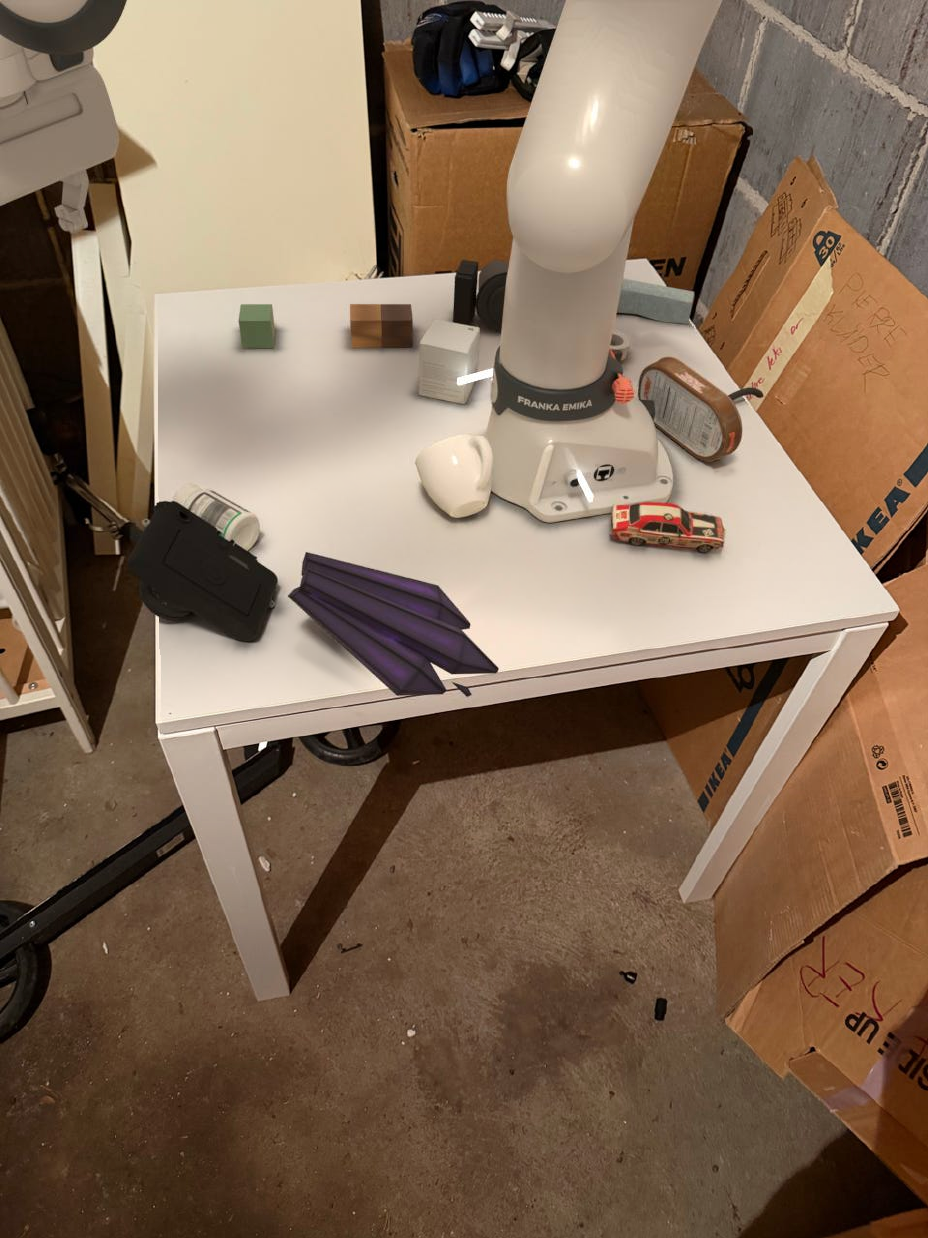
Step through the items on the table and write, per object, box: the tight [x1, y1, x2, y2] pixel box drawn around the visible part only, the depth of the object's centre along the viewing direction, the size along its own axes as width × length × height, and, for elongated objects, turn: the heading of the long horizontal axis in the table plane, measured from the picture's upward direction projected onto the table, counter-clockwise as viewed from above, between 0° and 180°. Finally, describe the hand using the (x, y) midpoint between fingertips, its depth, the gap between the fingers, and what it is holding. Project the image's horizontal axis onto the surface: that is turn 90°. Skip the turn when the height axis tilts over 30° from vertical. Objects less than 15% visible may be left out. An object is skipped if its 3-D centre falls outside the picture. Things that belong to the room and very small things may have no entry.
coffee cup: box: [475, 259, 509, 333], centre depth 120 cm, size 8×8×10 cm
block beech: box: [349, 303, 382, 349], centre depth 116 cm, size 4×4×4 cm
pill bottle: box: [170, 483, 261, 552], centre depth 90 cm, size 5×5×8 cm
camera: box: [126, 500, 279, 642], centre depth 82 cm, size 14×7×8 cm
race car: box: [610, 502, 726, 555], centre depth 93 cm, size 5×12×5 cm, turn 79°
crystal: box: [287, 551, 500, 698], centre depth 80 cm, size 7×12×20 cm
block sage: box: [238, 303, 276, 349], centre depth 114 cm, size 4×4×4 cm
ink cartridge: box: [452, 259, 479, 326], centre depth 118 cm, size 5×2×8 cm, turn 168°
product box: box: [418, 318, 481, 405], centre depth 108 cm, size 6×6×7 cm
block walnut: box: [380, 303, 414, 349], centre depth 116 cm, size 4×4×4 cm
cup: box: [414, 433, 493, 519], centre depth 93 cm, size 8×10×7 cm
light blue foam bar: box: [616, 278, 696, 325], centre depth 126 cm, size 23×7×3 cm
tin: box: [637, 356, 743, 462], centre depth 103 cm, size 15×3×8 cm, turn 34°
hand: (29, 250), depth 71 cm, fingers open, 8 cm apart
